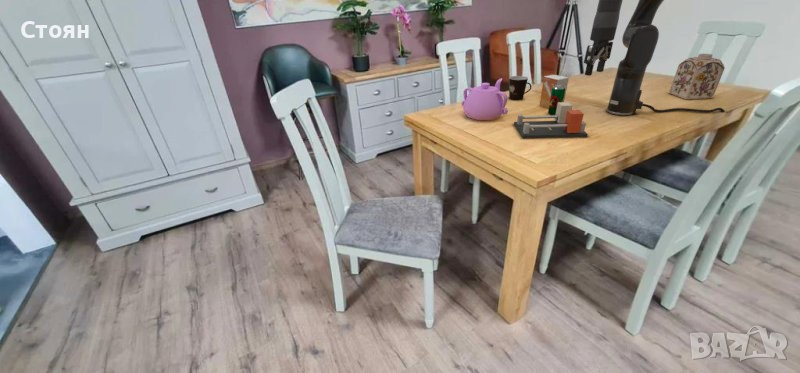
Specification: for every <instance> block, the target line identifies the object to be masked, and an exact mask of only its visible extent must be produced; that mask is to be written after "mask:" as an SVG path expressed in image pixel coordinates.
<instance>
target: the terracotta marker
mask: <svg viewBox="0 0 800 373" xmlns="http://www.w3.org/2000/svg"><path fill="white" fill-rule="evenodd" d="M584 115H585V114H584V113H583V112H582V111H581V110H580V109H572V110H567V113H566V118H565V124H568V127H564V130H567V133H580V128H581V124H582V121H583V119H584Z"/></svg>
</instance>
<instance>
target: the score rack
mask: <svg viewBox="0 0 800 373" xmlns="http://www.w3.org/2000/svg"><path fill="white" fill-rule="evenodd" d="M558 116H559V115H553V116H552V115H523V114H521V113H519V114H517V118H516V121H514V122H513V126H514V128H515V129H516V130H517V132H518V134H519V135H520V137H521V138H522V139H564V138H565V139H567V138H568V139H569V138H588V133H587V132H586V127H587V126H586V125H587V123H586V122H585V121H583V120H582V124H581V128H580V133H567V130H564V127H568V124H565V123H562V124H558V123H557V121H555V120H540V119H555V118H558ZM534 119H536V120H534ZM537 119H539V120H537ZM523 120H529V121H523Z"/></svg>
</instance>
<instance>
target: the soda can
mask: <svg viewBox="0 0 800 373" xmlns="http://www.w3.org/2000/svg"><path fill="white" fill-rule="evenodd" d="M565 90H566V88H565V85H563V84H555V85H554V86H553V87H552V92H551V98H550V104H549V108H548V110H547V115H548V116H553V115H556V110H557V104H558V102H563V100H564V95H565ZM566 91H567V90H566ZM565 96H566V95H565ZM564 101H565V100H564Z"/></svg>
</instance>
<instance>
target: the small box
mask: <svg viewBox="0 0 800 373" xmlns="http://www.w3.org/2000/svg"><path fill="white" fill-rule="evenodd" d="M569 79H570V78H569V77H567V76H563V75H558V74H550V75H544V76H543V81H542V87H541V94H540V99H539V106H540V107H544V108H547V109H549V104H550V98H551V92H552V87H553V86H554V85H555V84H563V85H565V88H566V90H565V95H564V100H563V102H565V100H566V94H567V90H568V83H569Z"/></svg>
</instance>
